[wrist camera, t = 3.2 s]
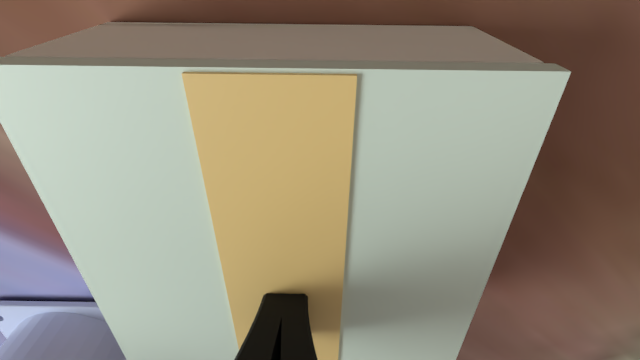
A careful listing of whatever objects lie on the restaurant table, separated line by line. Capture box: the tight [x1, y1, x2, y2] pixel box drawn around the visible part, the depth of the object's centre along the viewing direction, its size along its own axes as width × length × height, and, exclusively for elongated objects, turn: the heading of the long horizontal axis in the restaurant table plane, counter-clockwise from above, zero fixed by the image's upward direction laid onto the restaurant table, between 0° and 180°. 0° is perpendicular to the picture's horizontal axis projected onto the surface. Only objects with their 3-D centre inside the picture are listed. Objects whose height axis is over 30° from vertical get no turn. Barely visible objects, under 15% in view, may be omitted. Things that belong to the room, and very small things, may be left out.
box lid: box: [0, 57, 571, 360], centre depth 11 cm, size 12×12×1 cm
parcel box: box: [5, 22, 544, 63], centre depth 13 cm, size 12×12×4 cm
